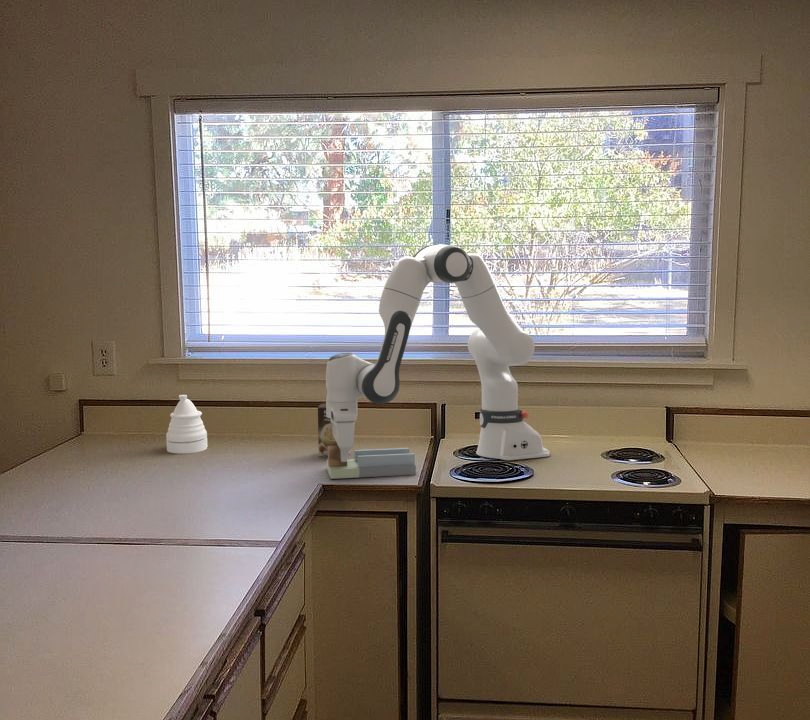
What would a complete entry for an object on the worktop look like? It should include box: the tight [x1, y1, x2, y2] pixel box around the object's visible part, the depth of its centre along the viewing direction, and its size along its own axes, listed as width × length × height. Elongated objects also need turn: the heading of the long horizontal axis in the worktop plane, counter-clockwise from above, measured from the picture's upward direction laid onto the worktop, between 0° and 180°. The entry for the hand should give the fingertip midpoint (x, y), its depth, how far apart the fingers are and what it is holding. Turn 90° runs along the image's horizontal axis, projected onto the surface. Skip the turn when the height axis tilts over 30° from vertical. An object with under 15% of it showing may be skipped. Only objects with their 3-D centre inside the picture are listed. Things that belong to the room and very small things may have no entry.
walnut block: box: [327, 445, 347, 467], centre depth 223 cm, size 5×5×5 cm
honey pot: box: [165, 394, 209, 454], centre depth 256 cm, size 13×13×18 cm
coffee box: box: [317, 403, 350, 457], centre depth 245 cm, size 9×6×16 cm
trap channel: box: [325, 447, 417, 480], centre depth 225 cm, size 24×12×6 cm, turn 101°
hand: (342, 458), depth 223 cm, fingers closed on walnut block, 5 cm apart
